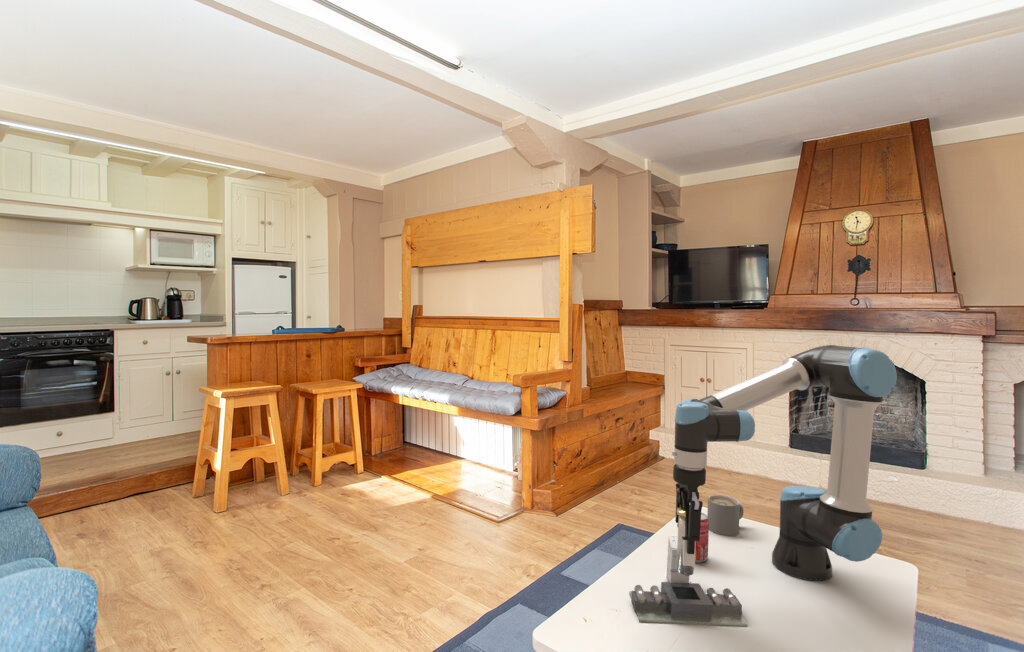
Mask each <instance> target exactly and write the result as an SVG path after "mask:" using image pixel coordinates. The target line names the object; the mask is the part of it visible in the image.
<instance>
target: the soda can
mask: <svg viewBox="0 0 1024 652" xmlns="http://www.w3.org/2000/svg"><path fill="white" fill-rule="evenodd" d="M709 531H710V530H709V521H708V519H707V514H705V513H703V512H701V525H700V541H696V550H695V564H700V563H704V562H706V560H708V557H709V533H710V532H709Z"/></svg>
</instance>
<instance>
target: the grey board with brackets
mask: <svg viewBox="0 0 1024 652" xmlns="http://www.w3.org/2000/svg"><path fill="white" fill-rule="evenodd" d="M660 584H661V585H660V588H659V587H658V586H657V585H652V586H650V588H649V589H650V591H648V590H647V591H645V590H644V589H643V586H642V585H640V584H636V585H635V586H634V589H633V590H630V591H629V592H628V594H629V596H630V601H631V605H632V608H633V612H634V613H635V614H636V617H637V620H638V622H640V623H657V624H658V623H661V624H663V623H665V624H681V625H682V624H684V625H685V624H686V625H706V626H707V625H709V626H710V625H711V626H733V627H734V626H735V627H747V626H748V622H746V620H745V619H744V616H743V615H742V613H743V611H742V610H743V604H742V603H741V602H740V600H739V599H738V598H737V596H736V595H735V594H734V592H732V590H731V589H730V588H724V589H723V590H722V594H719V593H717V592H716V590H715V589H714V588H713V587H709V588H707V589H706V593H705V591H704V589H703V588H702V586H701V584H700V583H695V582H694V583H693V582H689V583H672V582H667V581H666V582H665V581H661V583H660Z"/></svg>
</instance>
